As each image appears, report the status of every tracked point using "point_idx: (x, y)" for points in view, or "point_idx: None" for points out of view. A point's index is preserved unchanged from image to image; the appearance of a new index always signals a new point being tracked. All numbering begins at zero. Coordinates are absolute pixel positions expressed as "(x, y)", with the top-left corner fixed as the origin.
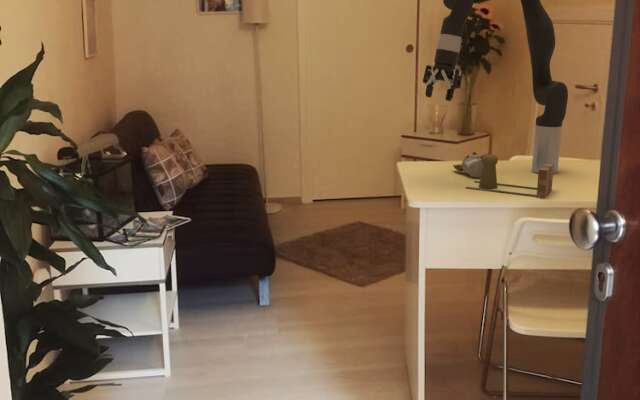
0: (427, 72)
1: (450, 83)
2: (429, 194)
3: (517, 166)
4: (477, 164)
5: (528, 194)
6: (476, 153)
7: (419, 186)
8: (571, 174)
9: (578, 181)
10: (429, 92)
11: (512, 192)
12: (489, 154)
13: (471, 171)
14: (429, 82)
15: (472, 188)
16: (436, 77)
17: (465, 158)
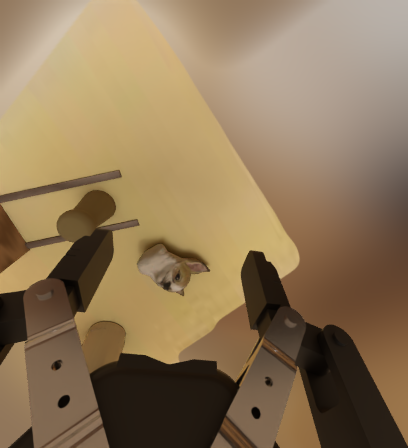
0: (369, 445)
1: (27, 327)
2: (137, 72)
3: (153, 336)
4: (144, 255)
5: (9, 196)
6: (162, 285)
7: (191, 124)
8: None
9: None
10: (252, 277)
11: (36, 191)
12: (76, 234)
13: (157, 246)
14: (277, 326)
15: (106, 173)
16: (219, 385)
17: (181, 272)
